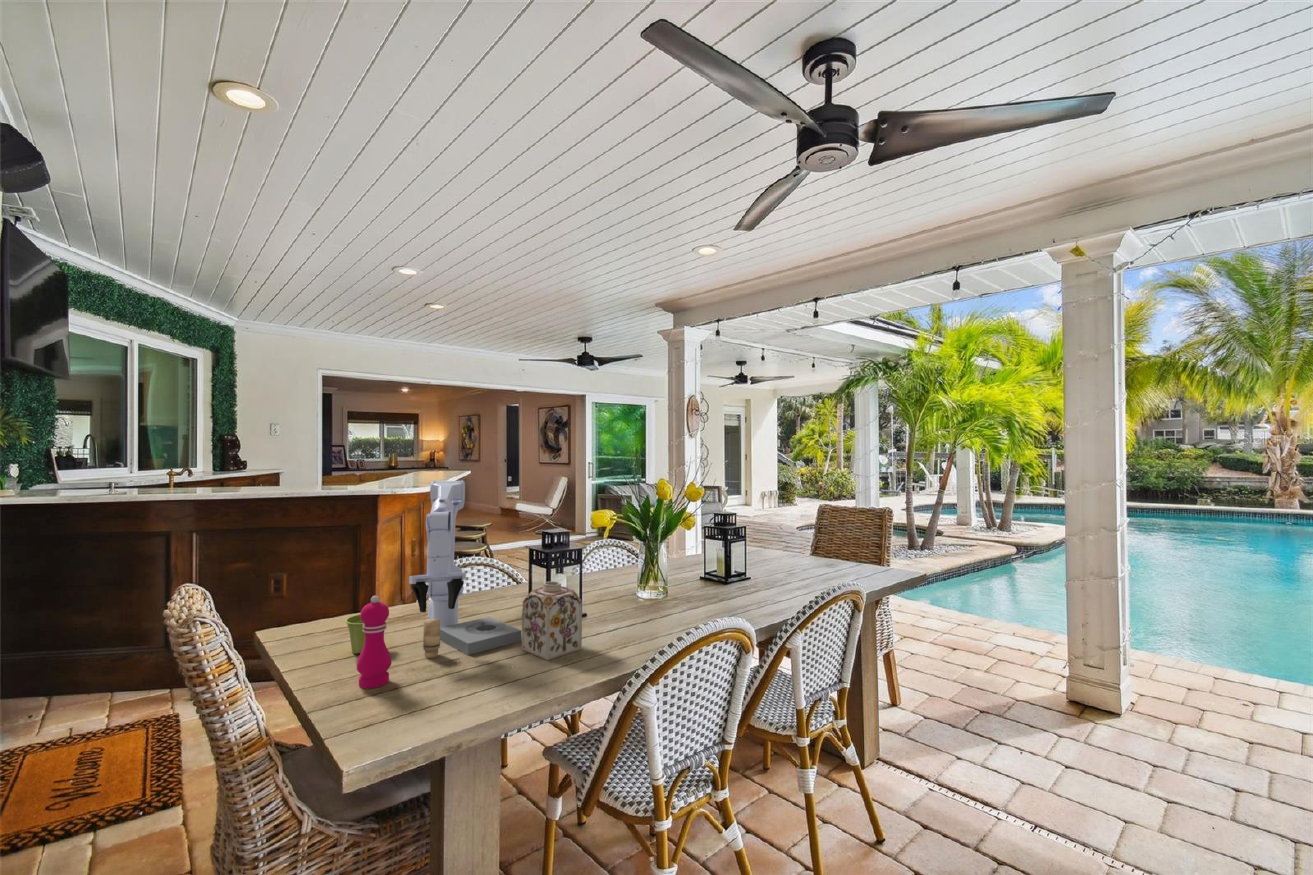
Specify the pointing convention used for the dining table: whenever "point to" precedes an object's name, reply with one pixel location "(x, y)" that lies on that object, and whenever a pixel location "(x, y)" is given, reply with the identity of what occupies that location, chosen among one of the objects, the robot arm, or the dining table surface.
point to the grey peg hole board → (479, 635)
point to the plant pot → (356, 633)
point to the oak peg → (431, 637)
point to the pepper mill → (374, 646)
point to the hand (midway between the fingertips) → (437, 610)
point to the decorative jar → (552, 621)
